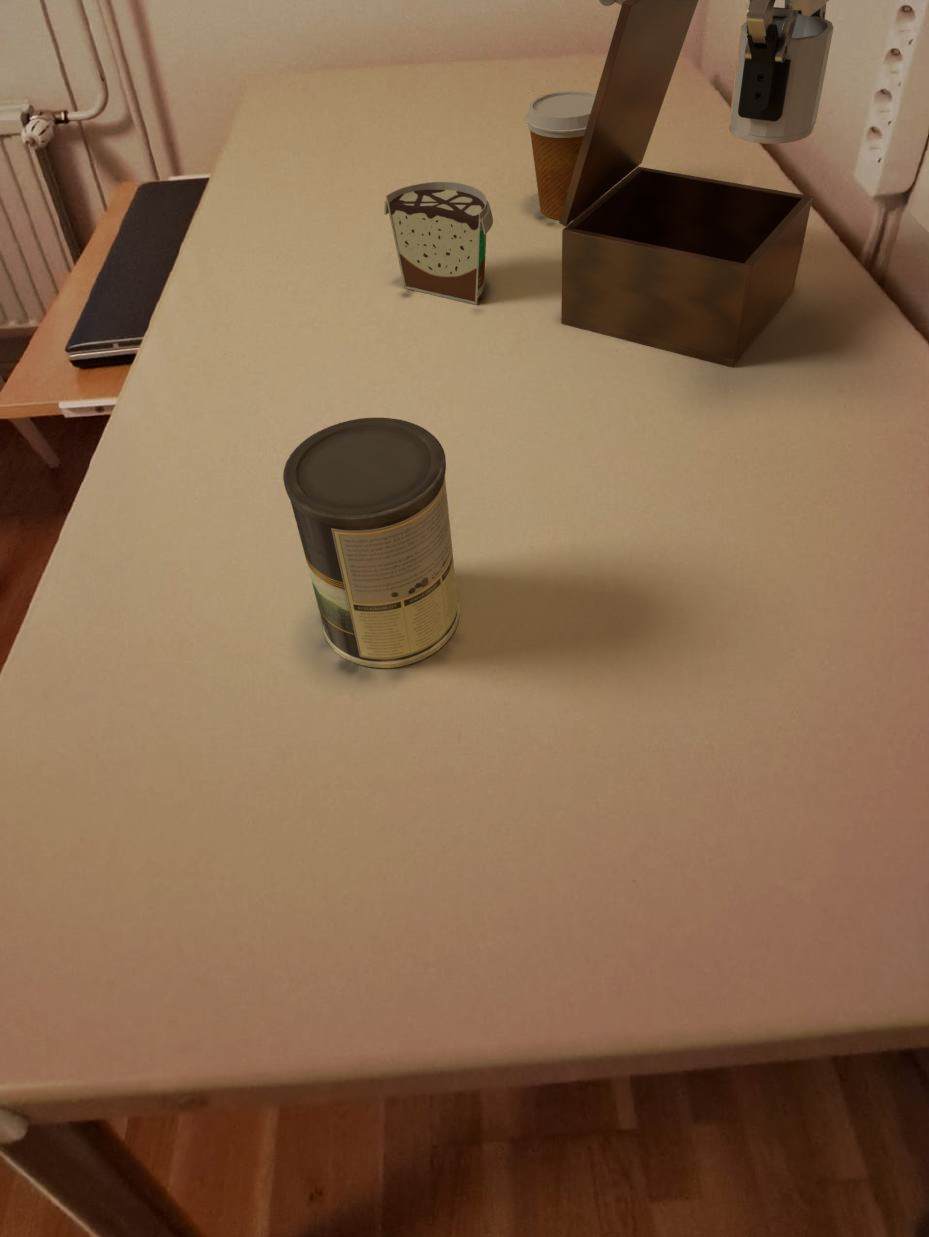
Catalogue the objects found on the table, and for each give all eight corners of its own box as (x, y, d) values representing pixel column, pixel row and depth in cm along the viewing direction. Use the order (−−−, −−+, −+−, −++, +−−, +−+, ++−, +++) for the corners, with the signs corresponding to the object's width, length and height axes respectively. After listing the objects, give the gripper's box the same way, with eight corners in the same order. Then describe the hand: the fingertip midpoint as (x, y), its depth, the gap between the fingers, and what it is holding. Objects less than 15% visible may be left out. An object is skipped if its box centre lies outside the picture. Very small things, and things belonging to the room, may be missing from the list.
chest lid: (714, -46, 83) (662, -71, 84) (631, 5, 73) (573, -23, 74) (641, 163, 98) (598, 140, 99) (565, 226, 89) (518, 201, 90)
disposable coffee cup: (517, 223, 114) (515, 116, 105) (539, 190, 120) (538, 87, 111) (594, 229, 111) (598, 121, 102) (612, 196, 117) (617, 90, 108)
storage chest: (794, 290, 98) (813, 195, 91) (733, 367, 89) (749, 269, 82) (632, 255, 106) (638, 166, 99) (561, 323, 97) (561, 229, 90)
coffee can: (297, 650, 68) (252, 498, 57) (359, 557, 74) (328, 405, 64) (428, 685, 65) (405, 531, 54) (481, 585, 71) (469, 430, 61)
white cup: (824, 119, 74) (844, 17, 69) (798, 148, 70) (817, 43, 65) (745, 109, 76) (759, 10, 71) (716, 137, 73) (728, 35, 68)
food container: (516, 282, 103) (514, 189, 96) (489, 307, 100) (484, 213, 93) (422, 261, 108) (413, 172, 101) (393, 285, 105) (381, 194, 97)
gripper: (843, -185, 53) (786, 149, 66) (920, -228, 62) (857, 71, 75) (715, -184, 56) (685, 135, 69) (808, -225, 65) (766, 62, 78)
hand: (775, 99), depth 72 cm, fingers closed on white cup, 6 cm apart
